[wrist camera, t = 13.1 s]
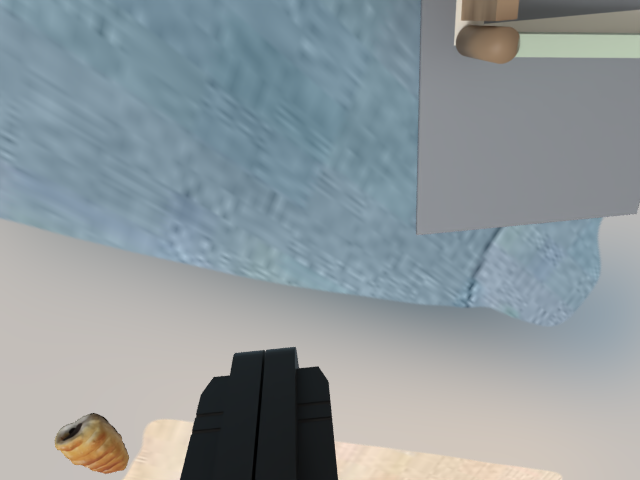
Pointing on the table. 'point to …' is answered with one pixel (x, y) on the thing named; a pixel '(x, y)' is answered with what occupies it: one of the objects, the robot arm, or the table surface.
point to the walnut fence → (489, 10)
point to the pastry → (93, 444)
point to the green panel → (543, 44)
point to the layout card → (526, 123)
